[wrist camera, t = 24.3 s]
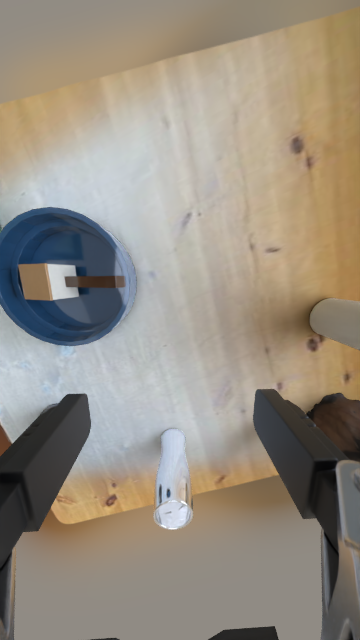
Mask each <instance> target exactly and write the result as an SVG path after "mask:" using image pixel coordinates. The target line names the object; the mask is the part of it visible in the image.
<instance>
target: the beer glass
mask: <svg viewBox="0 0 360 640" xmlns="http://www.w3.org/2000/svg"><path fill="white" fill-rule="evenodd" d="M185 443H186V437H185V434H184V433H183V432H182V431H181V430H178V429H169V430H166V431H165V432H164V433H163V434H162V436H161V448H162V453H161V458H160V462H159V466H158V470H157V474H156V480H155V489H154V515H153V516H154V520H155V522H156V523H157V524H158V525H159V526H160V527H162V528H165V529H169V530H175V529H180V528H183V527H185V526H186V525H188V524H189V523H190V521H191V520H192V517H193V501H192V483H191V476H190V471H189V467H188V463H187V459H186V455H185Z"/></svg>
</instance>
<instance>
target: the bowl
mask: <svg viewBox="0 0 360 640" xmlns="http://www.w3.org/2000/svg"><path fill="white" fill-rule="evenodd" d="M41 263H47V264H58V265H75V270H76V276H125V283H126V287H123V288H81V287H78V293H79V297H73V298H65V299H57V300H52V301H48V300H28V299H25V298H24V292H23V287H22V282H21V277H20V272H19V267H18V264H41ZM136 284H137V280H136V274H135V269H134V265H133V263H132V261H131V258H130V256H129V254H128V252H127V251H126V249H125V248H124V246H123V245H122V244H121V242H120V241H119V240H118V239H117V238H116V237H114V236H113V235H112V234H111V233H110V232H109V231H107V230H106V229H104V228H103V227H102V226H100V225H99V224H97V223H96V222H94V221H92V220H91V219H89V218H87V217H86V216H84V215H82V214H79V213H77V212H74V211H71V210H68V209H62V208H53V207H47V208H39V209H32V210H30V211H28V212H25V213H23V214H20V215H18V216H17V217H16V218H14V219H13V220H12V221H11V222H9V223H8V224H7V225H6V226H5V227H4V228H3V230H2V231H1V233H0V304H1V306H2V307H3V309H4V311H5V312H6V314H7V315H8V316H9V317H10V318H11V319H12V320H13V321H14V322H15V324H16V325H18V326H19V327H20V328H22V329H23V330H24V331H26V332H27V333H28V334H30V335H32V336H34V337H36V338H38V339H40V340H42V341H45V342H49V343H52V344H56V345H64V346H76V345H83V344H88V343H90V342H93V341H96V340H98V339H100V338H101V337H103V336H104V335H106V334H107V333H109V332H110V331H111V330H113V329H114V328H115V327H116V326H117V325H118V324H119V323H120V322H121V321H122V320H123V319H124V318H125V317H126V316H127V314H128V313H129V311H130V309H131V307H132V305H133V302H134V299H135V295H136Z"/></svg>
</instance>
